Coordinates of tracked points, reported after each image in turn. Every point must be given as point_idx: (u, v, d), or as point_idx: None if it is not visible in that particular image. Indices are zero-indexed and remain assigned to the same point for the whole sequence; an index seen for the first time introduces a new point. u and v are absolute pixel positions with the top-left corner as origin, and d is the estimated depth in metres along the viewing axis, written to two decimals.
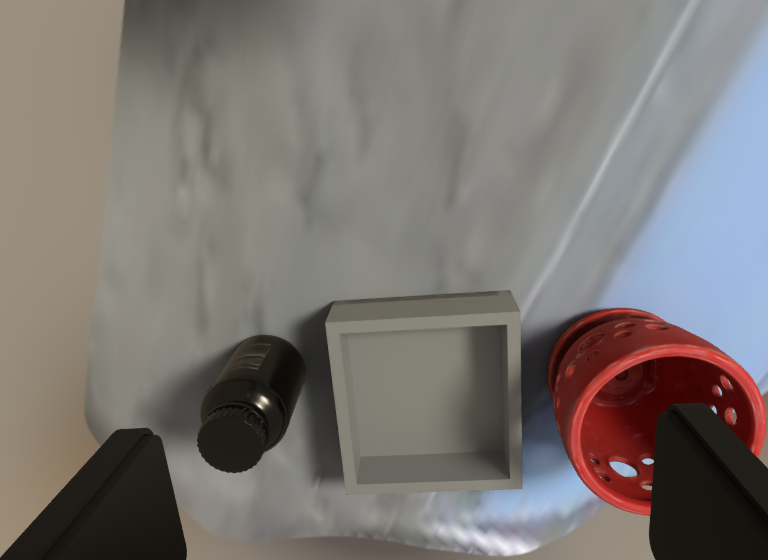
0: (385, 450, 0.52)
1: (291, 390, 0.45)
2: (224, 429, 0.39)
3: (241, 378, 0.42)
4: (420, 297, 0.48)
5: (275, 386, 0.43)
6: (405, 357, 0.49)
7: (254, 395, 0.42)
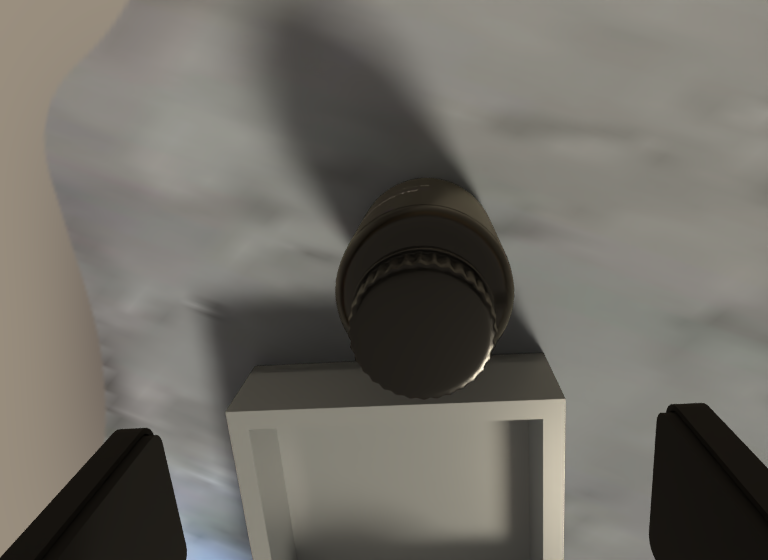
0: None
1: None
2: (463, 328, 0.18)
3: (513, 300, 0.21)
4: None
5: None
6: (452, 459, 0.32)
7: None
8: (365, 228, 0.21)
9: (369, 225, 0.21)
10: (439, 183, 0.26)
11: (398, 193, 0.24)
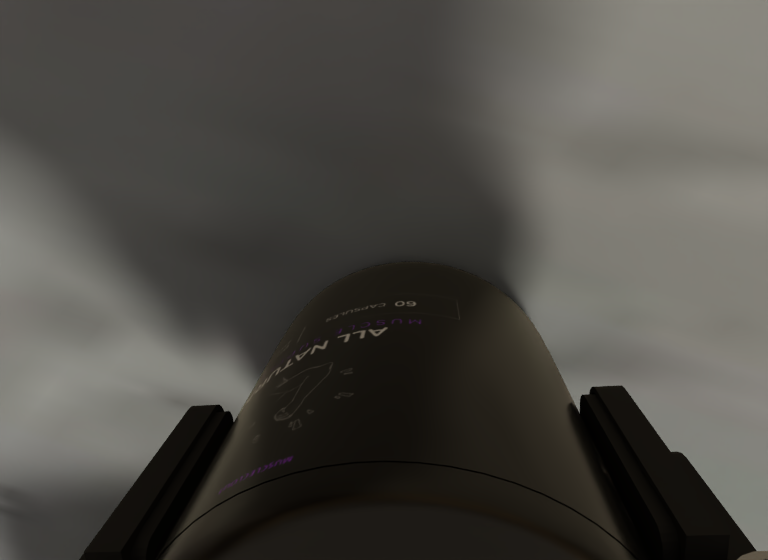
0: None
1: None
2: None
3: None
4: None
5: None
6: None
7: None
8: (187, 548, 0.06)
9: (200, 541, 0.06)
10: (441, 288, 0.11)
11: (337, 332, 0.09)
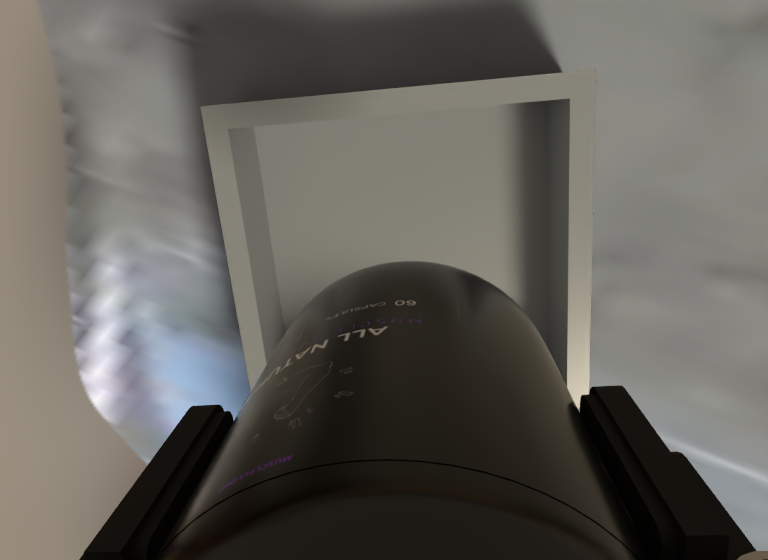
0: (271, 172, 0.28)
1: None
2: None
3: None
4: None
5: None
6: (461, 207, 0.28)
7: None
8: (187, 547, 0.06)
9: (199, 539, 0.06)
10: (441, 287, 0.11)
11: (337, 331, 0.09)
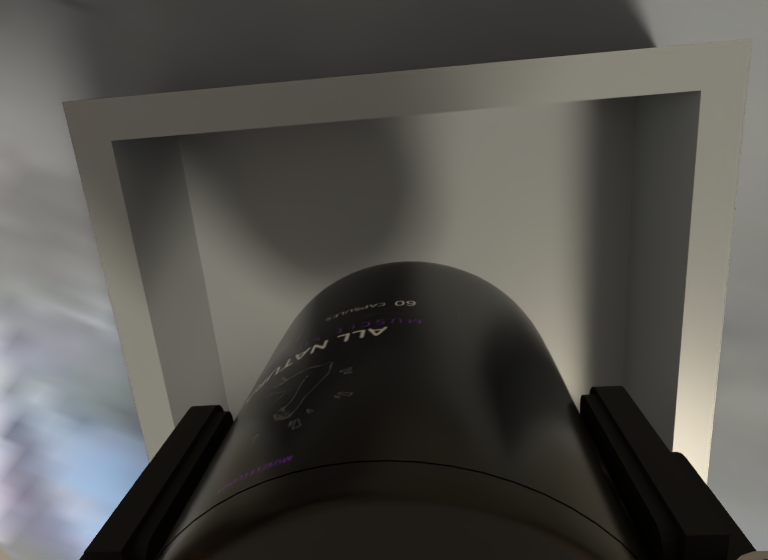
0: (207, 204, 0.18)
1: None
2: None
3: None
4: None
5: None
6: (495, 258, 0.18)
7: None
8: (187, 547, 0.06)
9: (199, 540, 0.06)
10: (441, 287, 0.11)
11: (337, 332, 0.09)
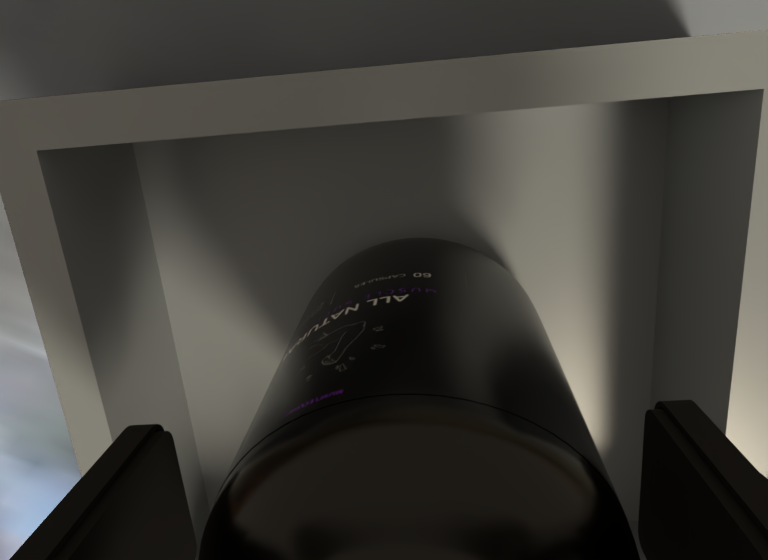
0: (168, 221, 0.16)
1: None
2: None
3: None
4: None
5: None
6: None
7: None
8: (267, 453, 0.08)
9: (277, 447, 0.08)
10: (451, 262, 0.13)
11: (366, 297, 0.11)
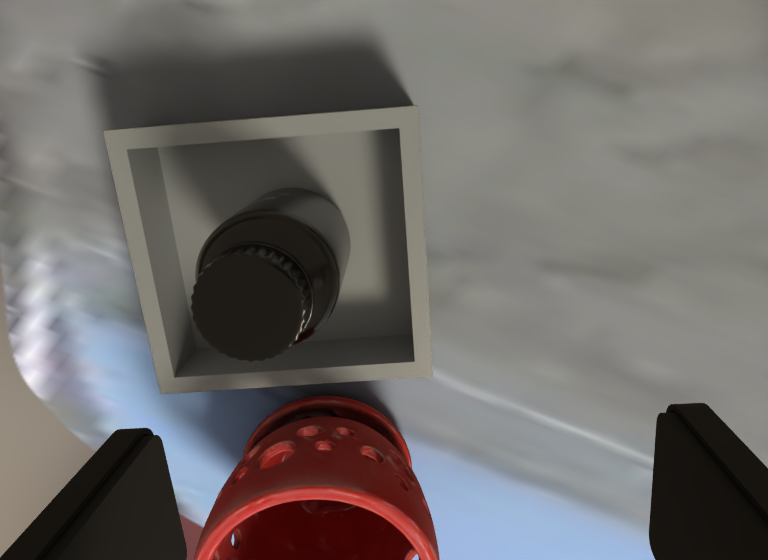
0: (174, 183, 0.34)
1: None
2: (279, 305, 0.23)
3: (337, 289, 0.27)
4: None
5: None
6: None
7: (315, 317, 0.26)
8: (219, 225, 0.26)
9: (222, 223, 0.26)
10: (300, 192, 0.31)
11: (261, 199, 0.30)
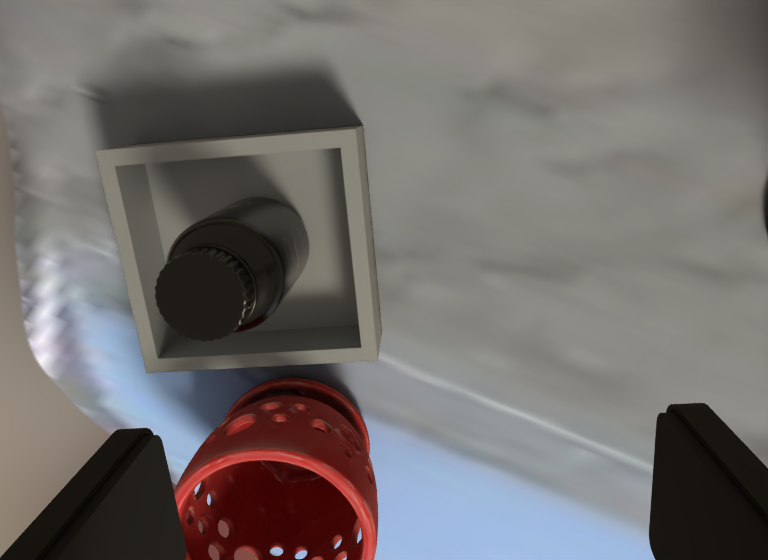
0: (159, 193, 0.39)
1: None
2: (225, 296, 0.28)
3: (282, 284, 0.32)
4: (372, 234, 0.40)
5: None
6: None
7: (261, 307, 0.31)
8: (185, 229, 0.31)
9: (187, 228, 0.31)
10: (263, 202, 0.37)
11: (226, 207, 0.35)
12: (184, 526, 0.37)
